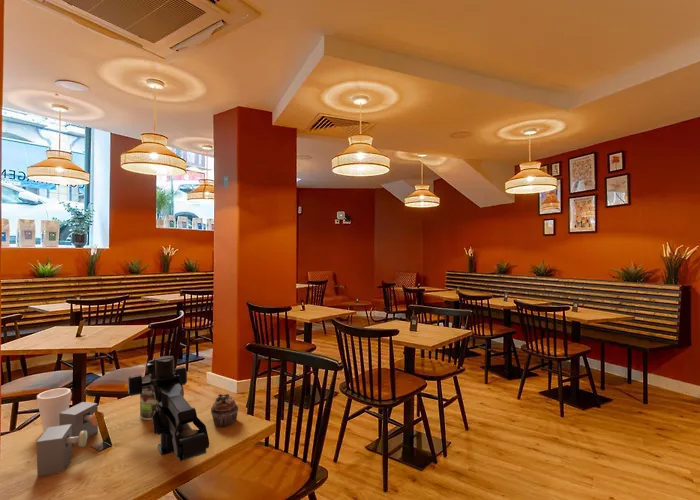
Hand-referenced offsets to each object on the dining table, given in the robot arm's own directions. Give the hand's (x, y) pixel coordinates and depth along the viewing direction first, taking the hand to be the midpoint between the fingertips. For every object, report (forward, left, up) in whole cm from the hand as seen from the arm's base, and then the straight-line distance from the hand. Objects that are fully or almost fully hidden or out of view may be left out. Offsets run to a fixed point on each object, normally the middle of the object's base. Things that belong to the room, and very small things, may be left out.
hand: (153, 375), depth 148 cm
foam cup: (+10, +30, -17) cm, 36 cm away
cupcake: (-17, -21, -17) cm, 32 cm away
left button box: (-17, +29, -16) cm, 38 cm away
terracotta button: (-4, +20, -12) cm, 23 cm away
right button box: (-1, +23, -16) cm, 28 cm away
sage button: (-18, +25, -12) cm, 33 cm away
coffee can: (+4, -1, -17) cm, 17 cm away
